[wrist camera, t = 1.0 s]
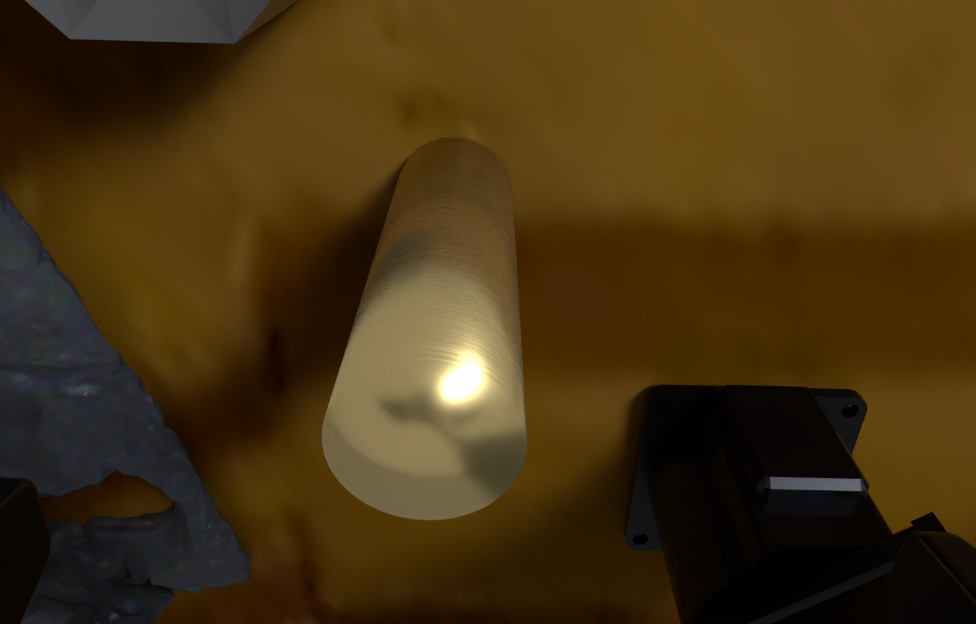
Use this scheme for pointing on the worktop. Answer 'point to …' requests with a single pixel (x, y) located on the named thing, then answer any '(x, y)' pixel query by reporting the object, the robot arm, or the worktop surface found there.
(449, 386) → the brass pin
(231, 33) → the grey hollow finned part
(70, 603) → the dark slate chunk
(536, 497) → the worktop surface
